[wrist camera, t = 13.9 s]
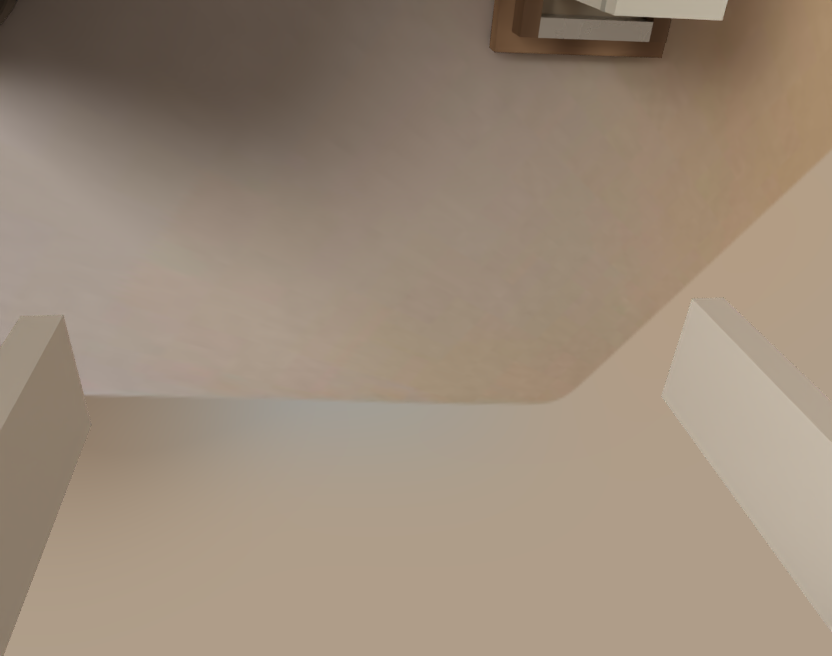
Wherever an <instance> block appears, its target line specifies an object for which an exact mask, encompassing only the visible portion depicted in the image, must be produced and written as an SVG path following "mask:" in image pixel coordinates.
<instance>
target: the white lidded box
mask: <svg viewBox="0 0 832 656" xmlns="http://www.w3.org/2000/svg"><path fill="white" fill-rule="evenodd" d="M576 1H579V2H581V3H584V4H587V5H589V6H592V7H594V8H597V9H599V10H600V11H603V12H607V13H609V14H612V15H615V16H636V17H657V18H679V19H700V20H721V21H722V20H723V16H724V13H725V9H726V5H727V2H728V0H576Z"/></svg>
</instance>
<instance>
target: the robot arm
mask: <svg viewBox="0 0 832 656" xmlns="http://www.w3.org/2000/svg"><path fill="white" fill-rule="evenodd" d="M16 1H17V0H0V25H1V24H2V23H3V22H4V20H5V19H6V18H7V16H8V15H9V14H10V12H11V10H12V9H13V7H14V5H15V3H16ZM662 398H663V399H664V401H665V402H666V403H667V405H668V406H669V408H670V409H671V410H672V412H673V413H674V415H675V416H676V417H677V419H678V420H679V422H680V423H681V424H682V426H683V427H684V428H685V430H686V431H687V433H688V434H689V435H690V437H691V438H692V440H693V441H694V442H695V444H696V445H697V446H698V448H699V449H700V451H701V452H702V453H703V455H704V456H705V458H706V459H707V460H708V462H709V463H710V464H711V466H712V467H713V469H714V470H715V471H716V473H717V474H718V476H719V477H720V478H721V480H722V481H723V483H724V484H725V485H726V487H727V488H728V489H729V491H730V492H731V494H732V495H733V496H734V498H735V499H736V501H737V502H738V503H739V505H740V506H741V508H742V509H743V510H744V512H745V513H746V514H747V515H748V517H749V519H750V520H751V521H752V523H753V524H754V526H755V527H756V528H757V530H758V531H759V532H760V534H761V535H762V537H763V538H764V539H765V541H766V542H767V544H768V545H769V546H770V548H771V549H772V550H773V552H774V553H775V555H776V556H777V557H778V559H779V560H780V562H781V563H782V564H783V566H784V567H785V569H786V570H787V571H788V573H789V574H790V575H791V577H792V578H793V580H794V581H795V582H796V584H797V585H798V587H799V588H800V589H801V591H802V592H803V593H804V595H805V596H806V598H807V599H808V600H809V602H810V603H811V604H812V606H813V607H814V609H815V610H816V612H817V613H818V614H819V616H820V617H821V618H822V620H823V621H824V623H825V624H826V625H827V627H828V628H829V630H830V631H831V632H832V401H831V400H830V399H829V398H828V397H827V396H826V395H825V394H824V393H823V392H822V391H821V390H820V389H819V388H818V387H817V386H816V385H815V384H814V383H813V382H811V381H810V380H809V379H808V378H807V377H806V376H805V375H804V374H803V373H802V372H801V371H800V370H799V369H798V368H797V367H796V366H795V365H794V364H793V363H792V362H791V361H790V360H788V359H787V358H786V357H785V356H784V355H783V354H782V353H781V352H780V351H779V350H778V349H777V348H776V347H775V346H774V345H773V344H771V342H770V341H769V340H767V339H766V338H765V337H764V336H763V335H762V334H761V333H760V332H759V331H758V330H757V329H756V328H755V327H754V326H753V325H752V324H751V323H750V322H749V321H748V320H747V319H745V318H744V317H743V316H742V315H741V314H740V313H739V312H738V311H737V310H736V309H735V308H734V307H733V306H732V305H731V304H730V303H729V302H728V301H727V300H726V299H725V298H697V299H695V298H694V299H692V301H691V304H690V307H689V310H688V314H687V317H686V320H685V323H684V327H683V329H682V332H681V336H680V339H679V342H678V345H677V348H676V351H675V355H674V358H673V361H672V364H671V367H670V370H669V374H668V377H667V380H666V383H665V386H664V390H663V393H662ZM90 427H91V421H90V417H89V413H88V409H87V405H86V401H85V397H84V394H83V390H82V386H81V382H80V378H79V374H78V370H77V366H76V362H75V359H74V355H73V351H72V347H71V343H70V339H69V335H68V331H67V327H66V324H65V320H64V316H63V315H47V316H20V318H19V319H18V321H17V323H16V324H15V326H14V327H13V329H12V330H11V332H10V333H9V335H8V336H7V338H6V340H5V341H4V343H3V344H2V346H1V347H0V656H4V653H5V650H6V648H7V645H8V642H9V639H10V637H11V634H12V632H13V629H14V627H15V624H16V621H17V619H18V616H19V614H20V611H21V608H22V606H23V603H24V600H25V597H26V595H27V593H28V590H29V587H30V585H31V582H32V580H33V577H34V574H35V572H36V569H37V566H38V564H39V561H40V559H41V556H42V553H43V550H44V548H45V545H46V543H47V540H48V538H49V535H50V532H51V530H52V527H53V524H54V522H55V519H56V517H57V514H58V511H59V509H60V506H61V503H62V501H63V498H64V496H65V493H66V490H67V487H68V485H69V482H70V480H71V477H72V475H73V472H74V469H75V467H76V464H77V462H78V459H79V456H80V454H81V451H82V448H83V446H84V443H85V441H86V438H87V435H88V433H89V430H90Z"/></svg>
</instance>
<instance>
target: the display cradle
mask: <svg viewBox="0 0 832 656" xmlns="http://www.w3.org/2000/svg"><path fill="white" fill-rule="evenodd" d="M671 19H672V18H657V17H636V16H615V15H612V14H609V13H607V12H603V11H600V10H599V9H597V8H594V7H592V6H589V5H587V4H584V3H581V2H579V1H576V0H495V2H494V11H493V20H492V29H491V38H490V47H489V48H491V49H492V50H493V51H494V52H510V53H539V54H569V55H598V56H628V57H657V58H662V54H663V50H664V45H665V43H666V40H667V36H668V32H669V28H670V24H671Z"/></svg>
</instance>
